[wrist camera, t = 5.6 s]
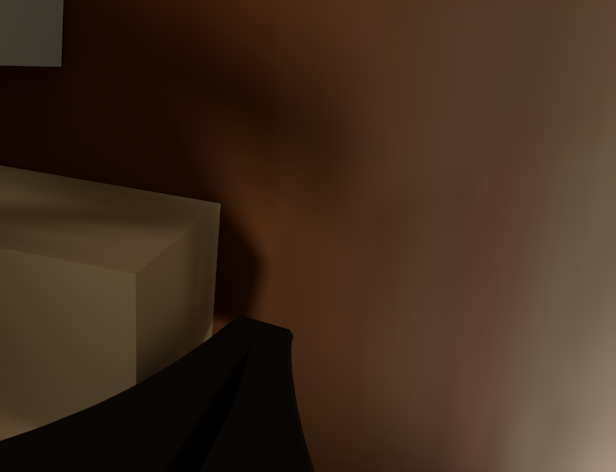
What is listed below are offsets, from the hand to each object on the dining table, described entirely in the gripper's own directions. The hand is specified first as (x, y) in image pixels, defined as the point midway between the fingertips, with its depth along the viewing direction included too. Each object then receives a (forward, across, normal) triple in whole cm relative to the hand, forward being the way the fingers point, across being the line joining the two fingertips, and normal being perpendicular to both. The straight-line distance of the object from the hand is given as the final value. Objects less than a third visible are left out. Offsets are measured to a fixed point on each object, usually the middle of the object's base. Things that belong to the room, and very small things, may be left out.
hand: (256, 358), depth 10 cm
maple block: (+1, +4, 0) cm, 5 cm away
